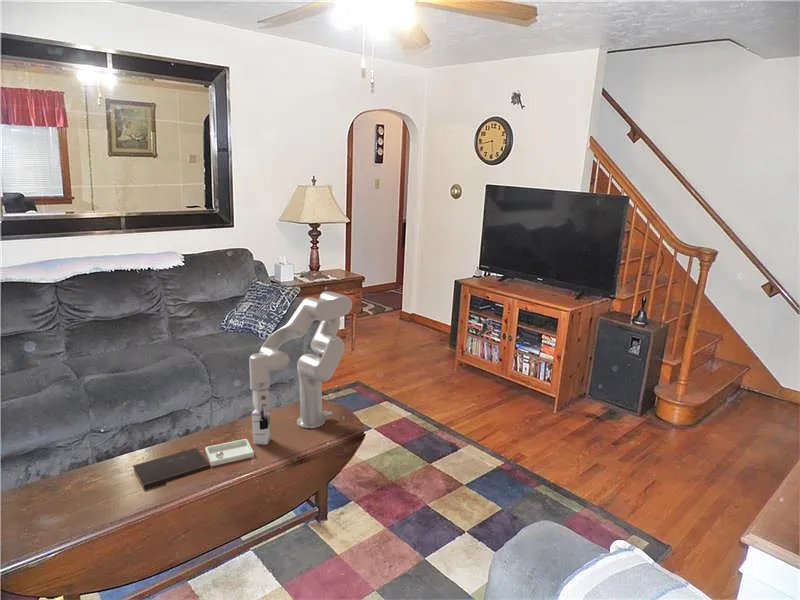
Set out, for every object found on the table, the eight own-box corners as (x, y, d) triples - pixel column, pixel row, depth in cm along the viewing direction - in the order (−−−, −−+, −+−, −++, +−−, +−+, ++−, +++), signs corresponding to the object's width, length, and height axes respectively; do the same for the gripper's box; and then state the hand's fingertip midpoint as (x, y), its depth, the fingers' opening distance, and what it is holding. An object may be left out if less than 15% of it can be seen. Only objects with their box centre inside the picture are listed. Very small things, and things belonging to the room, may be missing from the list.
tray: (246, 444, 219) (246, 438, 219) (254, 457, 209) (253, 452, 208) (205, 452, 212) (205, 447, 211) (211, 467, 201) (210, 461, 201)
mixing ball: (223, 456, 209) (222, 449, 208) (224, 459, 206) (224, 452, 205) (215, 457, 207) (214, 450, 206) (216, 461, 205) (216, 454, 204)
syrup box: (267, 445, 218) (266, 412, 215) (252, 445, 218) (251, 412, 215) (271, 438, 224) (269, 406, 220) (256, 438, 224) (255, 406, 220)
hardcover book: (133, 471, 199) (132, 465, 198) (196, 452, 213) (196, 447, 212) (144, 491, 187) (143, 485, 186) (210, 470, 201) (210, 465, 200)
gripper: (275, 390, 210) (276, 431, 214) (263, 375, 224) (264, 414, 228) (255, 393, 206) (257, 435, 210) (245, 378, 221) (246, 417, 225)
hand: (261, 424), depth 219 cm, fingers closed on syrup box, 7 cm apart
